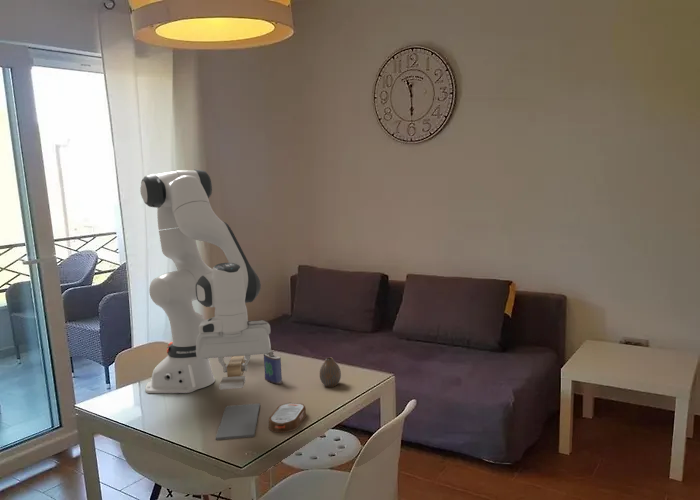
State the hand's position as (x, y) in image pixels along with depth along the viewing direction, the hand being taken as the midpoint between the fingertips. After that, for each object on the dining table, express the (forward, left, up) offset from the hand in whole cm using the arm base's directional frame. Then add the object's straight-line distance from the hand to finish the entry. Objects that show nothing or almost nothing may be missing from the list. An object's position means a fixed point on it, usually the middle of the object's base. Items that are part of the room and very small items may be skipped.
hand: (235, 371), depth 164 cm
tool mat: (0, 0, -15) cm, 15 cm away
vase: (+27, +24, -15) cm, 39 cm away
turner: (0, -2, -2) cm, 2 cm away
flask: (+8, +32, -15) cm, 36 cm away
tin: (+9, -1, -13) cm, 16 cm away
